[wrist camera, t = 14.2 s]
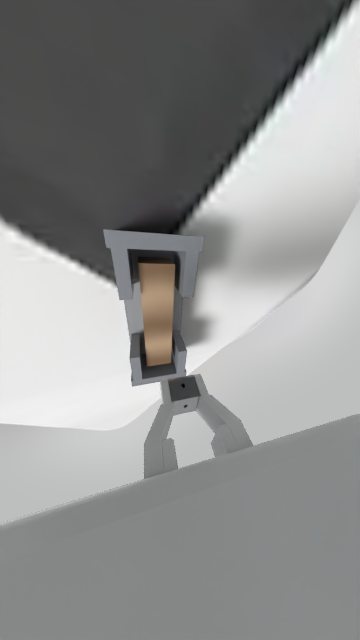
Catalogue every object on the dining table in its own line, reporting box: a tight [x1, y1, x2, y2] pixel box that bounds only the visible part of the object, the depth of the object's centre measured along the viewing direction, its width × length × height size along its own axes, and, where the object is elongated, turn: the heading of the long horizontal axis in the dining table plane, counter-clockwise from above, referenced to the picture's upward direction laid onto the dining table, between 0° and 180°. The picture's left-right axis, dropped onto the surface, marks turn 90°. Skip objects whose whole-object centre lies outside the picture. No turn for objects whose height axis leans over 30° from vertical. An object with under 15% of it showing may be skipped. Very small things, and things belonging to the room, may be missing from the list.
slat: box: [138, 257, 175, 366], centre depth 19 cm, size 14×4×4 cm, turn 176°
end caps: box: [103, 230, 204, 386], centre depth 19 cm, size 19×8×6 cm, turn 176°
